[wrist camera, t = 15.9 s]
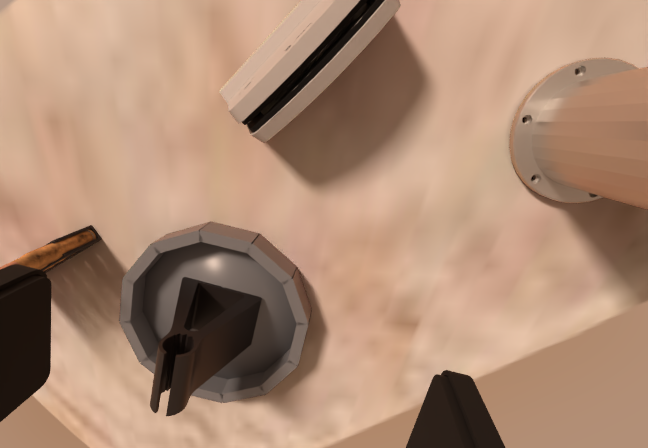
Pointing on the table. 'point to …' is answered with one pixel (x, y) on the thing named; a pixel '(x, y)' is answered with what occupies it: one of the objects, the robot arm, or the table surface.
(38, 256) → the ammunition clip
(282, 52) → the white electronic device
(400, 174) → the table surface
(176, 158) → the table surface
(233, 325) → the phone stand
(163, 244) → the round tray
